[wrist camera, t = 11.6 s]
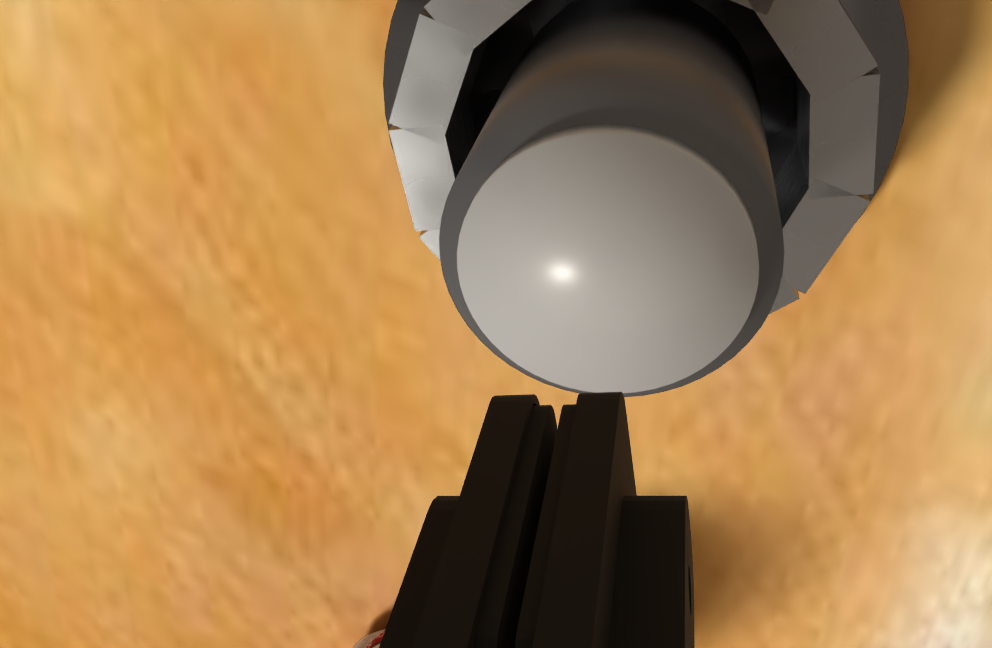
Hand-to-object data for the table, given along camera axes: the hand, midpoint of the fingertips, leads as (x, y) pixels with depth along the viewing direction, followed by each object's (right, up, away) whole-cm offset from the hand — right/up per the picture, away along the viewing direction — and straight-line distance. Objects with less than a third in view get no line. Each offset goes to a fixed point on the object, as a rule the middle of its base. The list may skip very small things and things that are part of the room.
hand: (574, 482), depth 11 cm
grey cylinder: (+2, +7, +8) cm, 11 cm away
